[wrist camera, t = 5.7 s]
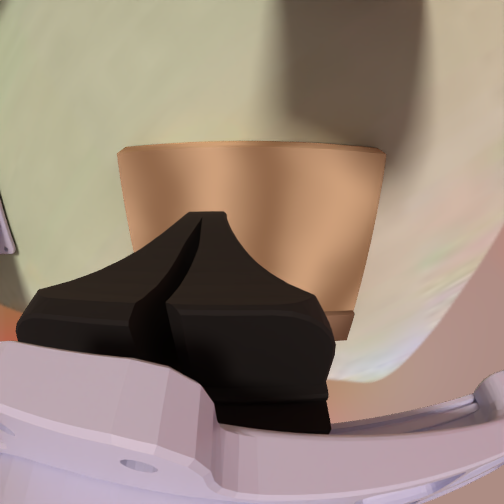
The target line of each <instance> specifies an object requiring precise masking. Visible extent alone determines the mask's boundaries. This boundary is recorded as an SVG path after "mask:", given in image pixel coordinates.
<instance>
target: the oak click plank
mask: <svg viewBox="0 0 504 504" xmlns="http://www.w3.org/2000/svg"><path fill="white" fill-rule="evenodd" d="M386 155H387V154H385V153H384V152H382V151H381V150H379V149H378V148H372V147H362V146H351V145H339V144H324V143H306V142H279V141H215V142H188V143H170V144H156V145H143V146H132V147H125V148H124V149H123V150H121V151H120V152H118V153H117V157H118V165H119V172H120V179H121V185H122V191H123V198H124V203H125V209H126V215H127V220H128V225H129V231H130V236H131V241H132V245H133V250H134V252H136V251H138V250H139V249H141V248H142V247H144V246H145V245H147V244H148V243H150V242H151V241H152V240H154V239H155V238H156V237H158V236H159V235H160V234H162V233H163V232H164V231H166V230H167V229H168V228H169V227H171V226H172V225H173V224H174V223H175V222H177V221H178V220H179V219H180V218H182V217H183V216H184V215H185V214H187V213H188V212H197V211H224V212H225V213H226V214H227V220H228V223H229V225H230V227H231V229H232V231H233V233H234V234H235V236H236V238H237V239H238V241H239V242H240V244H241V245H242V246H243V248H244V249H245V250H246V251H247V252H248V254H249V255H250V256H251V257H252V258H253V259H254V260H255V261H256V262H257V263H258V264H259V265H261V266H262V267H263V268H265V269H266V270H267V271H269V272H270V273H272V274H273V275H275V276H276V277H278V278H280V279H281V280H283V281H285V282H287V283H288V284H290V285H293V286H295V287H297V288H300V289H302V290H304V291H307V292H309V293H311V294H314V295H315V296H316V297H317V299H318V301H319V303H320V305H321V307H322V309H323V310H324V312H326V311H348V310H354V307H355V303H356V300H357V296H358V292H359V288H360V285H361V281H362V277H363V273H364V269H365V265H366V260H367V256H368V252H369V247H370V243H371V238H372V234H373V229H374V224H375V219H376V214H377V209H378V204H379V198H380V192H381V187H382V181H383V175H384V168H385V162H386Z"/></svg>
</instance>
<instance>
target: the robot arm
mask: <svg viewBox="0 0 504 504" xmlns="http://www.w3.org/2000/svg"><path fill="white" fill-rule="evenodd" d="M15 251H16V247H15V244H14V241H13V239H12V236H11V233H10V230H9V227H8V224H7V220H6V217H5V214H4V210H3V207H2V204H1V200H0V254H13V253H14V252H15ZM16 334H17V338H18V341H3V342H0V504H422V503H425V502H427V501H430V500H433V499H435V498H438V497H440V496H442V495H445V494H447V493H449V492H452V491H454V490H456V489H458V488H461V487H462V486H465V485H467V484H469V483H471V482H473V481H475V480H477V479H479V478H481V477H483V476H485V475H487V474H489V473H491V472H493V471H494V470H496V469H498V468H499V467H501V466H502V465H504V370H502V371H499V372H496V373H493V374H491V375H489V376H488V377H486V378H485V379H484V380H483V381H482V382H481V383H480V384H479V385H478V387H477V388H476V389H475V391H474V393H472V394H469V395H466V396H463V397H460V398H457V399H453V400H449V401H446V402H442V403H439V404H435V405H431V406H427V407H423V408H419V409H415V410H411V411H406V412H401V413H397V414H391V415H386V416H381V417H375V418H369V419H363V420H357V421H350V422H342V423H334V424H331V423H330V418H329V413H328V407H327V402H326V400H327V399H328V389H327V384H326V380H327V377H328V374H329V371H330V368H331V365H332V362H333V358H334V355H335V347H336V343H335V340H334V335H333V332H332V328H331V326H330V323H329V321H328V319H327V317H326V315H325V313H324V310H323V309H322V307H321V305H320V303H319V301H318V299H317V297H316V296H315V295H314V294H311V293H309V292H307V291H304V290H302V289H300V288H297V287H295V286H293V285H290V284H288V283H287V282H285V281H283V280H281V279H280V278H278V277H276V276H275V275H273V274H272V273H270V272H269V271H267V270H266V269H265V268H263V267H262V266H261V265H259V264H258V263H257V262H256V261H255V260H254V259H253V258H252V257H251V256H250V255H249V254H248V252H247V251H246V250H245V249H244V248H243V246H242V245H241V244H240V242H239V241H238V239H237V238H236V236H235V234H234V233H233V231H232V229H231V227H230V225H229V223H228V220H227V214H226V213H225V212H224V211H197V212H188V213H187V214H185V215H184V216H183V217H182V218H180V219H179V220H178V221H177V222H175V223H174V224H173V225H172V226H171V227H169V228H168V229H167V230H166V231H164V232H163V233H162V234H160V235H159V236H158V237H156V238H155V239H154V240H152V241H151V242H150V243H148V244H147V245H145V246H144V247H142V248H141V249H139V250H138V251H136V252H134V253H133V254H131V255H129V256H127V257H126V258H124V259H122V260H120V261H118V262H116V263H114V264H112V265H110V266H107V267H105V268H103V269H101V270H99V271H97V272H94V273H91V274H89V275H86V276H84V277H81V278H78V279H75V280H72V281H69V282H65V283H62V284H58V285H54V286H51V287H47V288H43V289H39V290H38V291H37V293H36V294H35V296H34V297H33V299H32V300H31V302H30V303H29V305H28V306H27V308H26V309H25V311H24V313H23V314H22V316H21V317H20V319H19V321H18V322H17V326H16Z"/></svg>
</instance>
